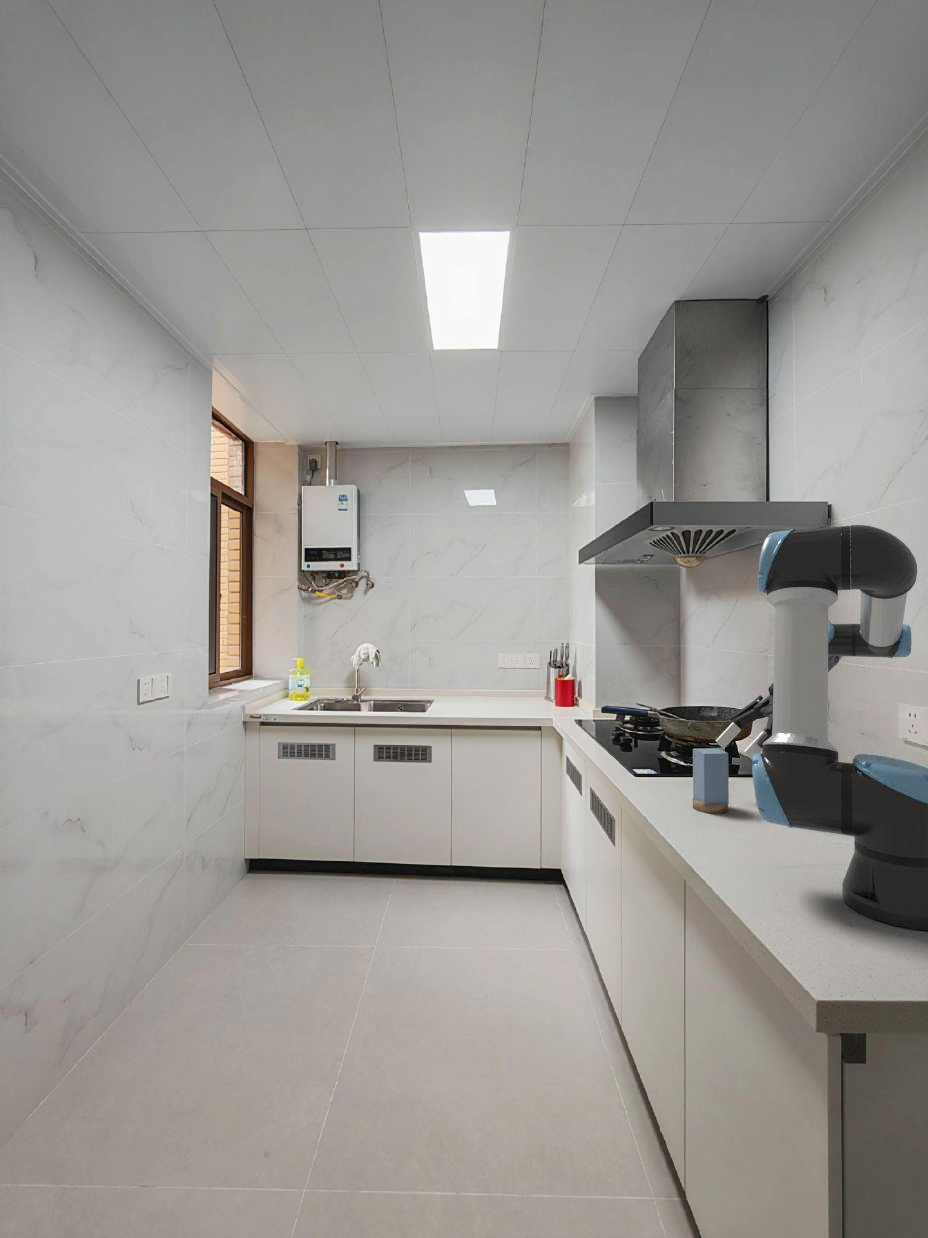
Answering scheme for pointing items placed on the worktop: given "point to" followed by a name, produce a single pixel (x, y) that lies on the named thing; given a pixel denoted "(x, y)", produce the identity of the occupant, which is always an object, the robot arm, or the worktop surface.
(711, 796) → the upright blue pillar
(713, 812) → the post stand
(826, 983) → the worktop surface
